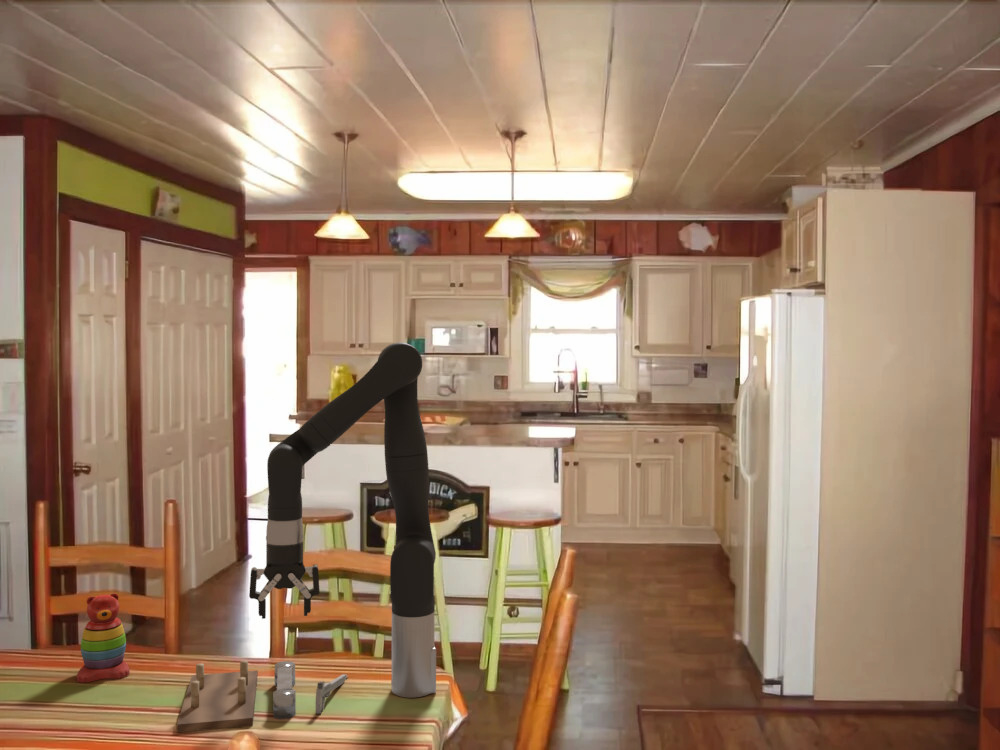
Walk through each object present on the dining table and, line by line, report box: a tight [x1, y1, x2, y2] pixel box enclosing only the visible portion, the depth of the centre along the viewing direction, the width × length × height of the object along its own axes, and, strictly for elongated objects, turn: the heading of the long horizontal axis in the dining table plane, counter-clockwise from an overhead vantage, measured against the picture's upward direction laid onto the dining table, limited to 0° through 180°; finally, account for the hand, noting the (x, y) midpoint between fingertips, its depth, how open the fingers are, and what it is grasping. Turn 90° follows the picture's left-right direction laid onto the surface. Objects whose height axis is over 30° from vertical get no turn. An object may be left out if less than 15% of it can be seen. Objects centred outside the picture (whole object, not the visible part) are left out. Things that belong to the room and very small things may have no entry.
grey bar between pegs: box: [272, 660, 297, 720], centre depth 184 cm, size 4×20×4 cm, turn 14°
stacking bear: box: [76, 593, 131, 684], centre depth 198 cm, size 11×10×18 cm
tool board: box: [176, 659, 259, 733], centre depth 182 cm, size 14×26×6 cm, turn 14°
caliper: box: [315, 673, 349, 715], centre depth 186 cm, size 20×1×6 cm, turn 174°
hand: (284, 616), depth 184 cm, fingers open, 8 cm apart
